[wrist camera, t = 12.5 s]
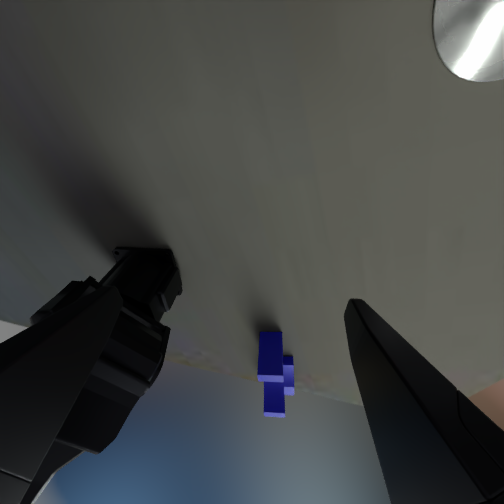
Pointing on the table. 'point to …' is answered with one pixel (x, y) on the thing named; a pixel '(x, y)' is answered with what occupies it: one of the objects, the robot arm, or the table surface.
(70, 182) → the table surface
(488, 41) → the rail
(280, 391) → the blue stepped block
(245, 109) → the table surface
